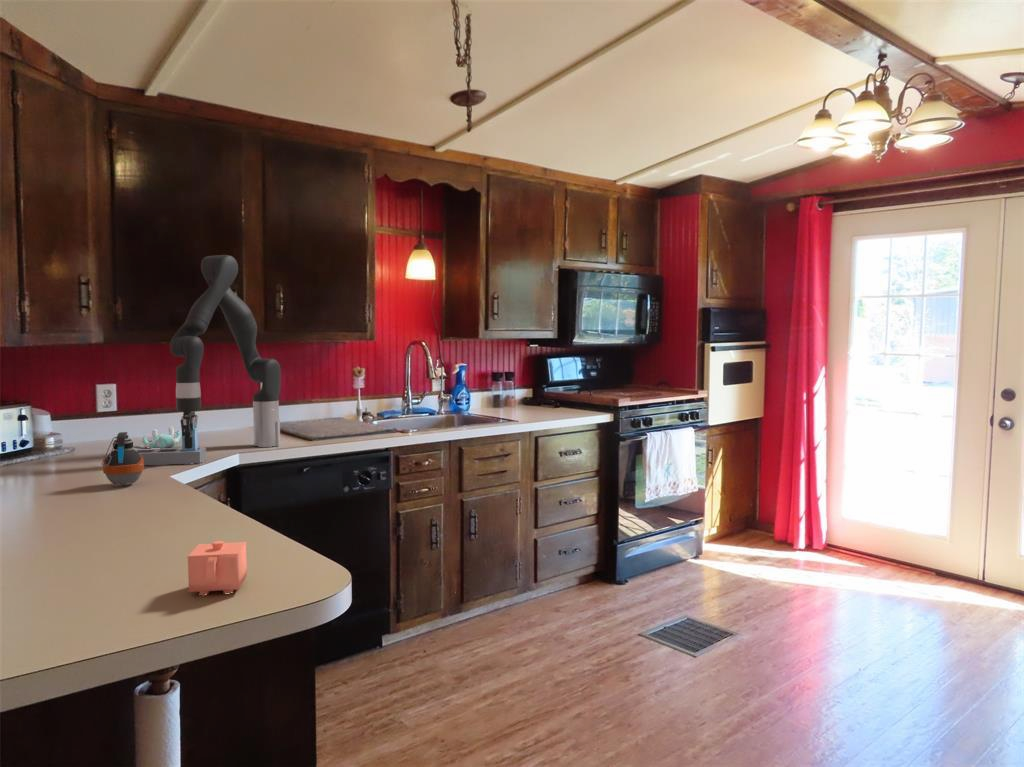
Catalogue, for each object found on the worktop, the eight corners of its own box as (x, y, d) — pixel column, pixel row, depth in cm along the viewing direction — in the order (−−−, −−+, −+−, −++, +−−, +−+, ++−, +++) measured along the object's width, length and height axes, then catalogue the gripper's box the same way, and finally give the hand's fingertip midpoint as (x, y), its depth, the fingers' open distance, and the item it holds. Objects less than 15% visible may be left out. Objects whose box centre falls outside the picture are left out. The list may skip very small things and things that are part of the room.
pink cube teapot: (250, 575, 127) (249, 530, 127) (236, 600, 115) (235, 550, 115) (204, 577, 126) (202, 532, 125) (185, 603, 114) (183, 553, 114)
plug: (198, 459, 240) (197, 427, 239) (195, 461, 236) (194, 429, 235) (185, 460, 239) (184, 427, 238) (182, 462, 235) (181, 429, 234)
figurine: (180, 425, 287) (179, 431, 260) (183, 440, 287) (182, 448, 260) (144, 430, 281) (139, 437, 254) (146, 446, 282) (142, 454, 255)
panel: (206, 458, 243) (205, 447, 243) (200, 463, 234) (199, 451, 233) (136, 461, 238) (135, 449, 238) (126, 466, 229) (126, 454, 228)
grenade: (106, 483, 204) (104, 431, 202) (146, 480, 207) (144, 429, 206) (99, 491, 193) (97, 436, 192) (141, 488, 197) (140, 434, 196)
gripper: (196, 397, 230) (197, 450, 231) (204, 393, 244) (206, 443, 245) (170, 398, 228) (172, 451, 230) (181, 394, 242) (183, 444, 243)
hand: (190, 446), depth 237 cm, fingers closed on plug, 4 cm apart
